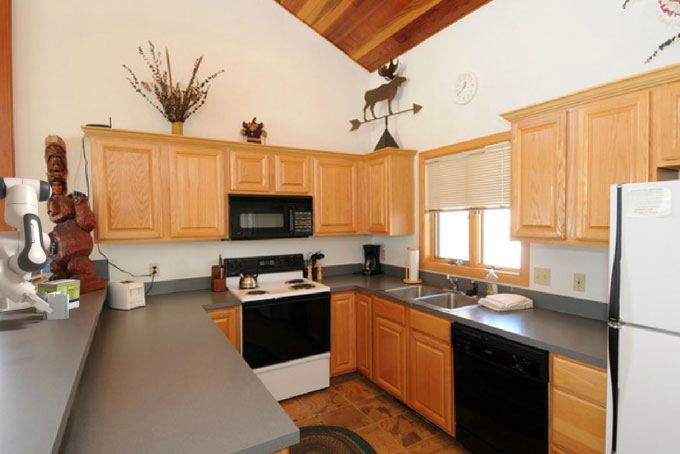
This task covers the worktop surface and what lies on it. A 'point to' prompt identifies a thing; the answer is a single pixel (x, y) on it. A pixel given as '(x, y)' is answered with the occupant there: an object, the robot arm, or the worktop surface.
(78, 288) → the tea box
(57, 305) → the blue-grey fence panel
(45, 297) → the white fence panel
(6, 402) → the worktop surface
